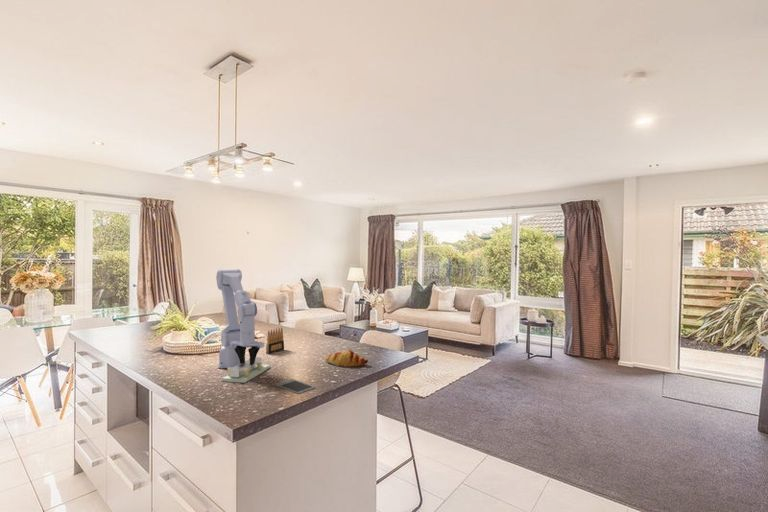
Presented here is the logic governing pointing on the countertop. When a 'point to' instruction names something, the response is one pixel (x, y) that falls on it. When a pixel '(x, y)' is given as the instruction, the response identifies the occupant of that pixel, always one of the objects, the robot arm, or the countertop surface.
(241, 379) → the rack
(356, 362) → the croissant
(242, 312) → the robot arm
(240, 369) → the grey bar
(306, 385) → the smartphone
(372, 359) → the countertop surface
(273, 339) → the ammunition clip
